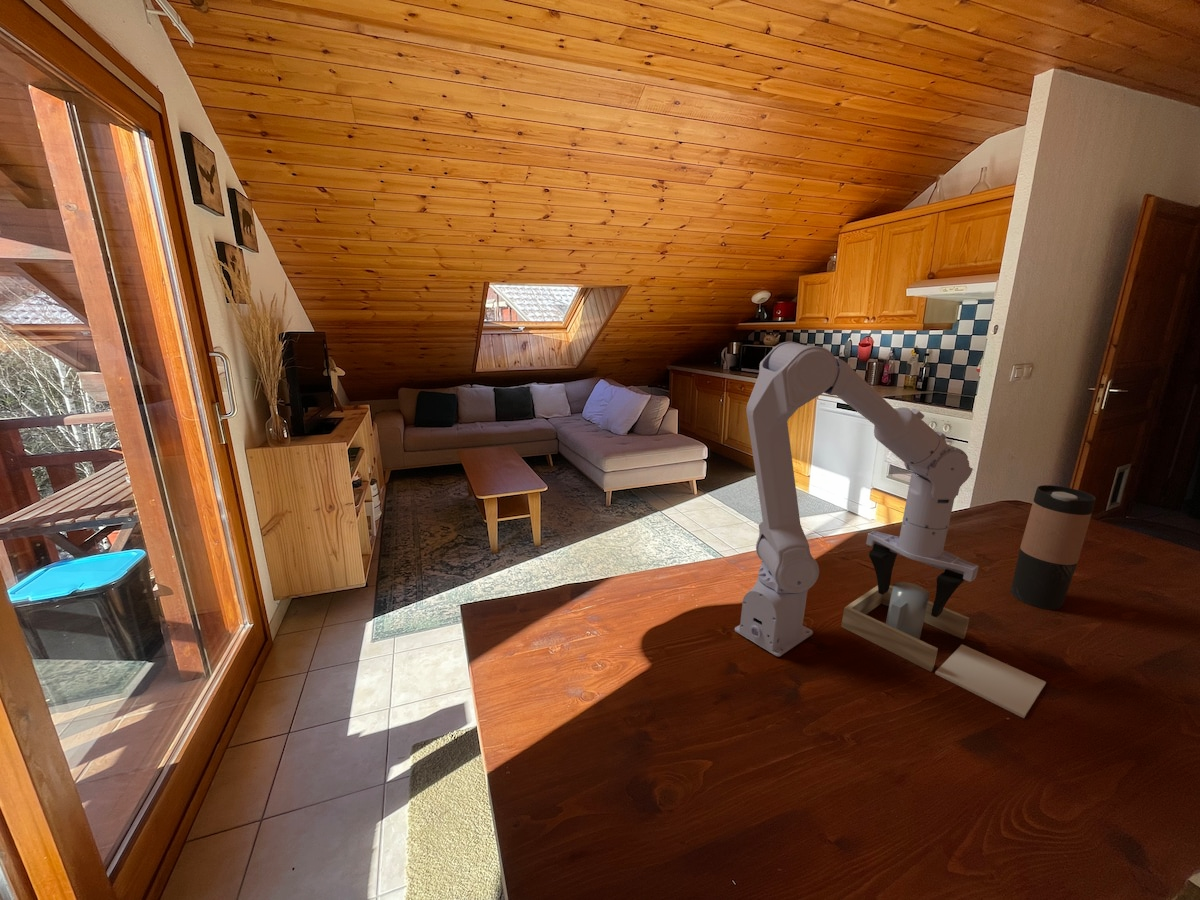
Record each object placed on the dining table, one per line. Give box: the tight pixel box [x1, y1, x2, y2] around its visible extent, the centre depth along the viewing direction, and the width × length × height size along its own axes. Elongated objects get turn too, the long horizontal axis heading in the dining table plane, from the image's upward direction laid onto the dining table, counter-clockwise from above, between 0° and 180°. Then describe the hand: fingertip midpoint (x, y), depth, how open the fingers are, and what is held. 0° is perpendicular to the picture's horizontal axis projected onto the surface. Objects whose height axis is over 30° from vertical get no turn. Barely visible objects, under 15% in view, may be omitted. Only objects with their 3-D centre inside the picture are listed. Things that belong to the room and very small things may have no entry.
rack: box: [841, 584, 970, 672], centre depth 80 cm, size 13×13×4 cm
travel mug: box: [1010, 484, 1097, 611], centre depth 88 cm, size 8×8×20 cm
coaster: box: [934, 644, 1047, 719], centre depth 71 cm, size 10×10×1 cm
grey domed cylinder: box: [885, 581, 930, 640], centre depth 79 cm, size 7×5×8 cm
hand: (908, 602), depth 79 cm, fingers open, 7 cm apart
